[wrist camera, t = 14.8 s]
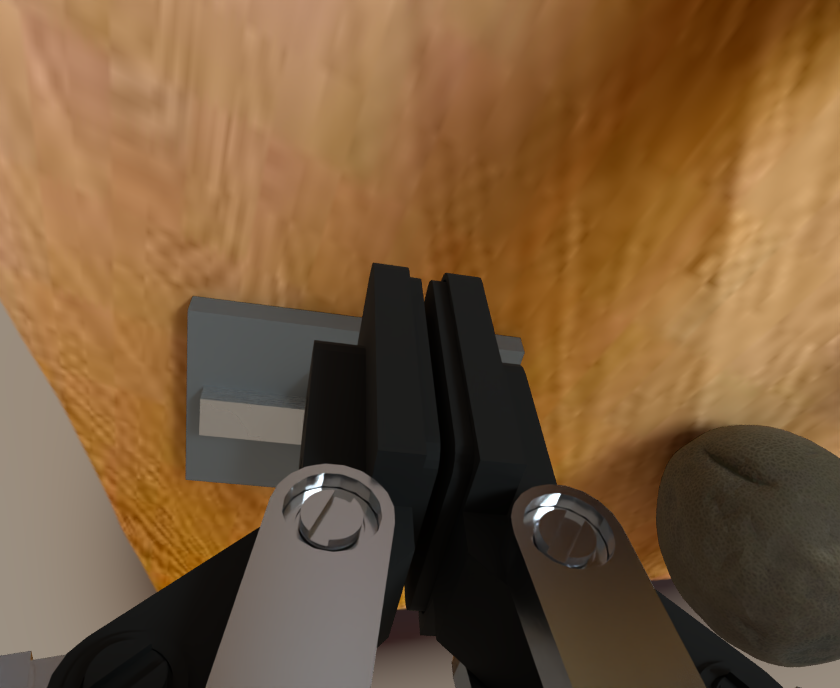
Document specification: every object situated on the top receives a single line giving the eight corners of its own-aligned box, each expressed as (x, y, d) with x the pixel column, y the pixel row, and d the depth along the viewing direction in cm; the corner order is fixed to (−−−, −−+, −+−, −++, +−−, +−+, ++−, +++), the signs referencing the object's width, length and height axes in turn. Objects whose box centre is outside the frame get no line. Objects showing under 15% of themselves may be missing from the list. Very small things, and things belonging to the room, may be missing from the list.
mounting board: (520, 337, 45) (524, 352, 44) (468, 488, 53) (470, 504, 52) (192, 296, 42) (187, 310, 41) (190, 463, 50) (185, 479, 49)
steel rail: (486, 416, 47) (489, 429, 46) (475, 449, 49) (477, 461, 48) (203, 386, 44) (200, 399, 43) (202, 421, 46) (199, 435, 45)
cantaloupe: (605, 514, 56) (671, 706, 44) (664, 374, 48) (764, 563, 36) (773, 520, 58) (880, 706, 46) (858, 385, 50) (1015, 570, 38)
